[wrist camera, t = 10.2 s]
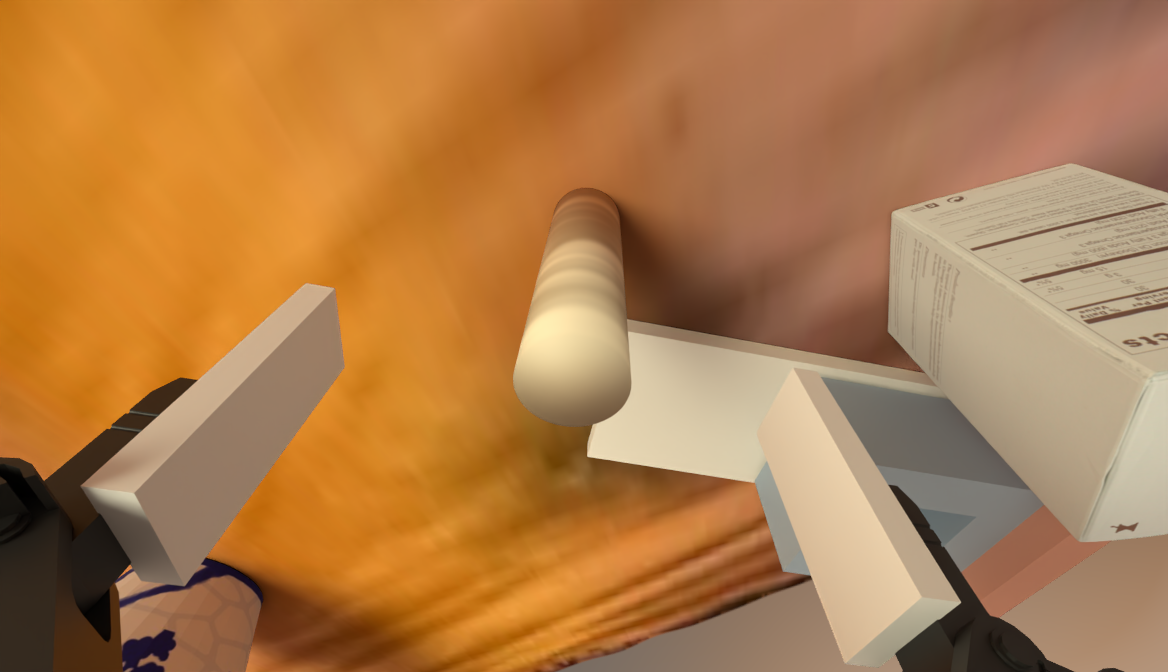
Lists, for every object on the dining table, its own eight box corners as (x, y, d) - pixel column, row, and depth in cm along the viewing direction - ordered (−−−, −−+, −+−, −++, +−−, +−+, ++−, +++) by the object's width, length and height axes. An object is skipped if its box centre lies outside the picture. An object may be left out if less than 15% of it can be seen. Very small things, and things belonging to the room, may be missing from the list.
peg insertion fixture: (623, 318, 26) (630, 443, 18) (991, 385, 27) (1136, 524, 20) (587, 442, 31) (582, 576, 24) (895, 491, 33) (979, 630, 26)
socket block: (819, 376, 25) (870, 464, 21) (971, 403, 26) (1056, 494, 21) (754, 480, 31) (783, 571, 26) (883, 501, 31) (935, 593, 26)
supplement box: (1038, 298, 24) (1368, 516, 14) (882, 332, 26) (1073, 551, 15) (1075, 155, 20) (1576, 309, 10) (888, 204, 22) (1151, 384, 11)
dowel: (558, 181, 22) (520, 325, 12) (626, 195, 22) (645, 347, 12) (548, 245, 23) (507, 416, 13) (611, 257, 24) (616, 434, 14)
